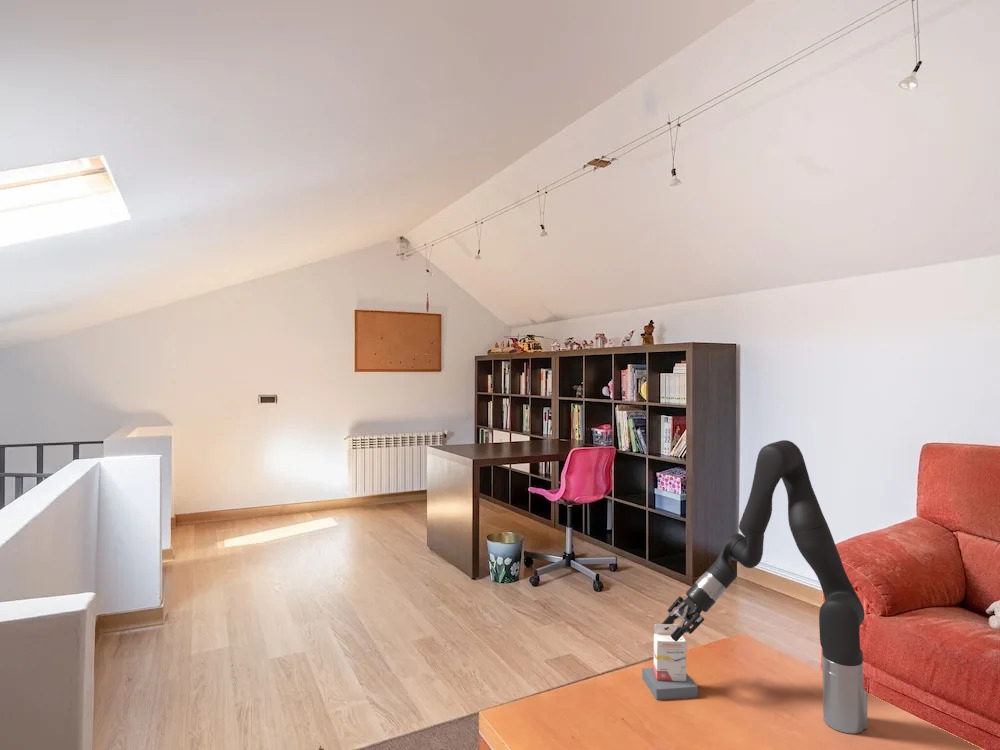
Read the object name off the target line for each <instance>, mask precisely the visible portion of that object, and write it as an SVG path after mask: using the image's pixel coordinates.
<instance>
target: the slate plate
mask: <svg viewBox="0 0 1000 750" xmlns="http://www.w3.org/2000/svg"><path fill="white" fill-rule="evenodd" d="M641 672H642V673H641V676H642V680H643V682H644V683H645V685H646V686H647V688H648V689H649V691H650V693H652V695H653V697H654V698H655V699H656V700H657V701H659V700H660V701H662V700H673V699H674V700H675V699H689V698H690V699H691V698H698V694H699V693H698V686H697V684H696V683H695V682H694V681H693V679H692V678H691V677H690V676H689V675H688V673H687V672H686V681H663V680H657V679H656V676H655V674H654V667H647V668H646V667H645V668H641Z"/></svg>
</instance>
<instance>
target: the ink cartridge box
mask: <svg viewBox="0 0 1000 750" xmlns="http://www.w3.org/2000/svg"><path fill="white" fill-rule="evenodd" d="M680 624H681V623H680ZM680 624H677V623H676V624H675V623H673V624H662V623H655V624H654V634H653V668H654V674H655V676H656V679H657V680H663V681H686V673H687V640H686V639H685V637H684V634H683V635H682V636H681V637H680V639H679V640H678V641H674V640H673V639H672V638H671V634H672V633H673V632H674V631H675V630H676V629H677V628H678V626H679V627H680ZM667 627H669V629H668V630H665V629H664V628H667Z"/></svg>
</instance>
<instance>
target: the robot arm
mask: <svg viewBox="0 0 1000 750" xmlns="http://www.w3.org/2000/svg"><path fill="white" fill-rule="evenodd" d="M806 465H807V464H806V461H805V459H804V455H803V453H802V451H801V450H800V448H799V446H797V444H795V443H794V442H792V441H790V440H786V439H784V440H778V441H775V442H771V443H768V444H766V445H764V446H763V447H762V448H760V450H759V452H758V455H757V460H756V463H755V469H754V470H755V471H754V475H753V479H752V485H751V489H750V493H749V497H748V499H747V503H746V505H745V508H744V510H743V514H742V517H741V519H740V522H739V524H738V529H739V531H740V532H741V533H738V532H737V533H732V534H731V535H730V536H728V537H727V538H726V540H725V542H724V544H723V546H722V548H721V550H720V552H719V553H718V556H717V558H716V559H715V561H714V563H712V564H711V565H710V566H709V568H708V569H707V570H706V571H705V572H704V573H702V575H701V576H700V577H698V579H697V580H696V581H695V582H694V583H693V584H692V585H691V587H689V589H688V590H687V591H686V592H685V595H686V598H685V599H684V598H683V597H682V596H681V595H680V596H678V597H677V598H676V599H675V601H674V602H673V603H672V604H671V605H670V607H668V608H667V612H668V616H667V617H666V618H665V619H664V621H662V622H661V624H675V621H677V620H679V619H681V620H680V621H681V622H680V627H679V626H678V628H677V629H676V630H675V631H674V632H673V633H672V634H671V638H672V639H673V640H674V641H678V640H679V639H680V637H681V636H682V635H683V636H684V634H687V633H688V634H690V635H691V634H692V633H694V631H695V630H696V629H697V628H698V627H699V626H700V625H701V624H702V623H703V622H704V621H705V618H704V617H703V615H701V613H702V612H703V613H708V612H709V610H710V609H711V608H712V607H713V605H715V604H716V602H717V601H718V600H719V599H720V598H721V597H722V595H723V594H724V592H726V590H727V589H728V587H730V586H731V584H732V583H733V582H734V581H735V580H736V579H737V576H738V573H737V570H736V569H735V568H734V567H733V565H732V564H731V561H732V559H734V560H735V561H737V562H738V563H739V564H741V565H742V566H743V567H745V568H747V569H753V568H756V567H757V566H758V565H759V564H760V562H761V561H762V558H763V554H764V539H765V533H766V530H767V527H768V525H769V522H770V520H771V517H772V514H773V513H772V512H773V496H774V493H775V489H776V488H777V485H778V484H779V482H780V481H781V480H782V482H783V484H784V487H785V491H786V493H787V516H788V517H787V518H788V519H787V520H788V525H789V526H788V527H789V528H790V532H791V535H792V537H793V539H794V542H795V545H796V547H797V549H798V551H799V552H800V554H801V556H802V558H804V560H805V562H806V563H807V564H808V565H809V566H810V568H811V569H812V570H813V572H814V574H815V575H816V577H817V580H818V583H819V584H820V587H821V591H822V593H823V597H824V602H823V603H822V604H821V605H820V608H819V613H818V621H819V622H818V625H819V643H820V646H821V655H822V661H821V662H822V718H823V721H824V723H825V724H826V725H827V726H828V727H830V728H831V729H833V730H835V731H838V732H841V733H845V734H859V733H862V732H863V730H867V729H868V692H867V691H866V690H865V689H864V653H863V650H862V649H861V640H860V639H861V638H860V637H861V635H860V634H861V633H860V632H861V631H860V629H861V625H862V624H863V622H864V620H865V617H866V616H865V609H864V605H863V603H862V601H861V599H860V597H859V596H858V594H857V592H856V590H855V588H854V586H853V584H852V582H851V581H850V578H849V577H848V575H847V572H846V570H845V568H844V564H843V561H842V559H841V557H840V553H839V551H838V549H837V546H836V544H835V543H836V542H835V540H834V538H833V535H832V532H831V529H830V527H829V525H828V523H827V520H826V519H825V516H824V513H823V511H822V509H821V506H820V503H819V501H818V498H817V495H816V493H815V491H814V488H813V485H812V483H811V479H810V475H809V473H808V469H807V466H806ZM663 630H670V628H669V627H667V628H663Z"/></svg>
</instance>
